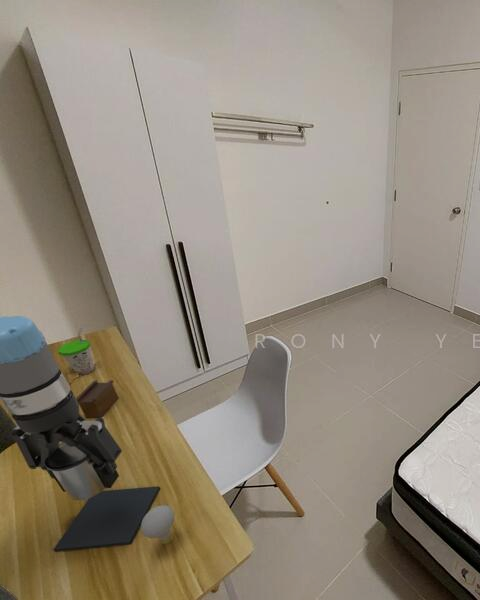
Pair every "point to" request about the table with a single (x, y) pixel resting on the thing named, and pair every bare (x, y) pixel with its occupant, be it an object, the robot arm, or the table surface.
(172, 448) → the table surface
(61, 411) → the robot arm
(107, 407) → the dark brown wooden block
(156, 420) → the table surface
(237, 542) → the table surface
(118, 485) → the table surface
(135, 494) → the mat
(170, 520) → the light bulb
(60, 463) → the pot
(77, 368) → the cup
